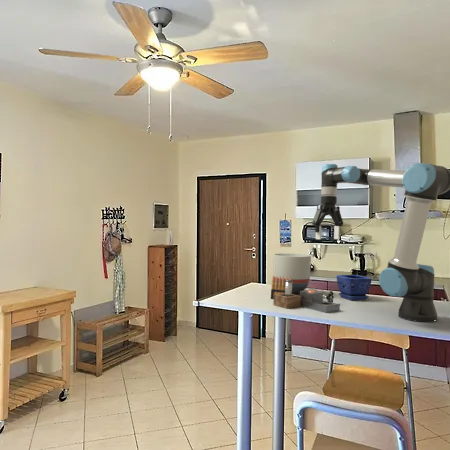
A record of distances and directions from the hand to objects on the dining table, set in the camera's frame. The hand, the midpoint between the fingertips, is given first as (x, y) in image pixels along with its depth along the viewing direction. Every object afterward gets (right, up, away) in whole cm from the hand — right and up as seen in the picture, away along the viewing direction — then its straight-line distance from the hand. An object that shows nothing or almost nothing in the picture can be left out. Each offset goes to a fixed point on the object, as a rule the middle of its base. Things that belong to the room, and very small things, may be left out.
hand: (327, 239), depth 199 cm
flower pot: (+18, -32, +16) cm, 40 cm away
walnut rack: (-21, -31, -7) cm, 38 cm away
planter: (-14, -31, +27) cm, 43 cm away
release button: (-10, -28, -7) cm, 30 cm away
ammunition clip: (-22, -31, +7) cm, 39 cm away
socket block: (-7, -32, -10) cm, 34 cm away
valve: (-3, -32, +2) cm, 32 cm away
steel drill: (-21, -31, -7) cm, 38 cm away
